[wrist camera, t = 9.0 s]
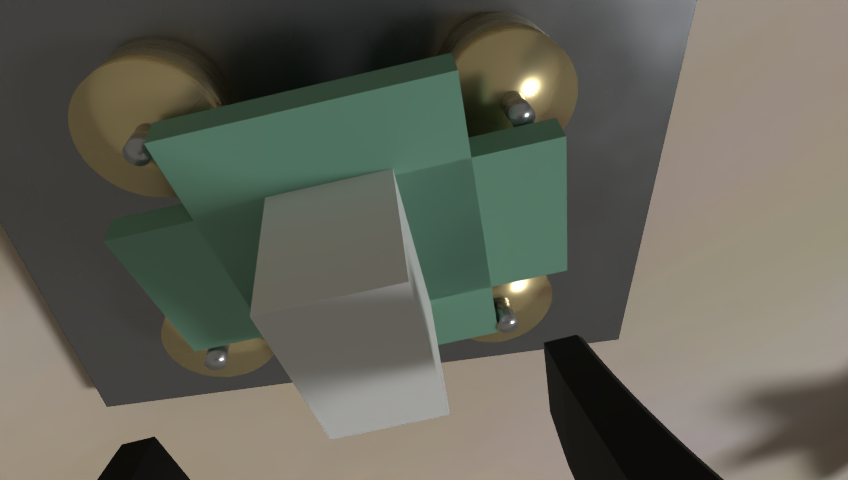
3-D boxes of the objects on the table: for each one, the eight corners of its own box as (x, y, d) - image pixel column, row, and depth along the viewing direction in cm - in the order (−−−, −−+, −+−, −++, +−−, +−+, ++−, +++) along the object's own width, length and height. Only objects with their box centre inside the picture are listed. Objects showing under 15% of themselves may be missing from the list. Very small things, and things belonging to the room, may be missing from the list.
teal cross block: (554, 28, 12) (635, 142, 9) (559, 297, 18) (608, 419, 15) (55, 145, 12) (-39, 294, 9) (230, 369, 18) (210, 502, 15)
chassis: (705, -135, 14) (815, -128, 11) (608, 322, 24) (652, 398, 20) (-144, -88, 12) (-309, -65, 9) (115, 385, 22) (77, 480, 19)
